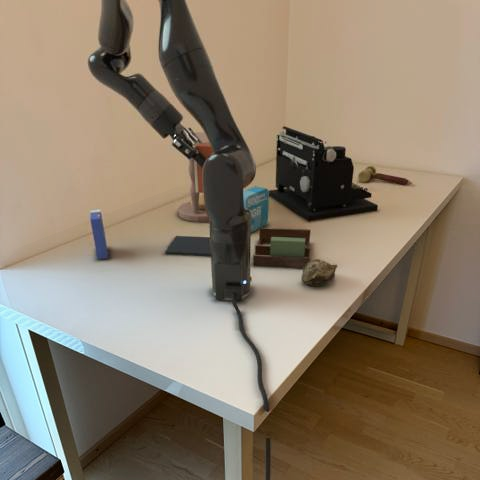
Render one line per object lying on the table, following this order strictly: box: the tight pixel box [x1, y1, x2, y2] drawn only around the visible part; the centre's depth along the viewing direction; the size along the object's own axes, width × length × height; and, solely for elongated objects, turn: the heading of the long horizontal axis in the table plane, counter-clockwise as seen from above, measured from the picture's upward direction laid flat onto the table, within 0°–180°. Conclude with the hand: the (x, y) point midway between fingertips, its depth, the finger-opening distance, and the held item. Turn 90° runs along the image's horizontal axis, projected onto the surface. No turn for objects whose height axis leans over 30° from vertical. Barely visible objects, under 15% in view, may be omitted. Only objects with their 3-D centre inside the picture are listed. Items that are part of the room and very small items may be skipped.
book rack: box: [252, 227, 311, 269], centre depth 130 cm, size 17×15×4 cm
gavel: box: [357, 165, 413, 186], centre depth 191 cm, size 21×5×10 cm
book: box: [194, 143, 213, 194], centre depth 123 cm, size 4×10×12 cm, turn 82°
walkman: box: [89, 209, 109, 260], centre depth 129 cm, size 8×3×12 cm, turn 14°
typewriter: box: [268, 125, 379, 223], centre depth 163 cm, size 31×27×25 cm
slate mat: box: [164, 235, 211, 257], centre depth 136 cm, size 12×20×1 cm, turn 82°
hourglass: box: [172, 131, 209, 223], centre depth 154 cm, size 18×18×25 cm
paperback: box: [270, 237, 306, 257], centre depth 124 cm, size 2×9×7 cm, turn 82°
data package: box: [243, 185, 270, 233], centre depth 145 cm, size 12×4×12 cm, turn 142°
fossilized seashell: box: [301, 258, 338, 287], centre depth 116 cm, size 8×7×10 cm
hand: (208, 164), depth 123 cm, fingers closed on book, 4 cm apart
